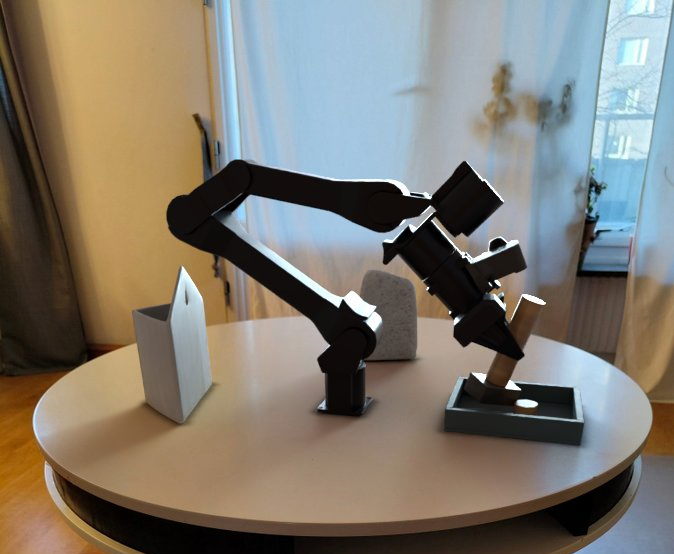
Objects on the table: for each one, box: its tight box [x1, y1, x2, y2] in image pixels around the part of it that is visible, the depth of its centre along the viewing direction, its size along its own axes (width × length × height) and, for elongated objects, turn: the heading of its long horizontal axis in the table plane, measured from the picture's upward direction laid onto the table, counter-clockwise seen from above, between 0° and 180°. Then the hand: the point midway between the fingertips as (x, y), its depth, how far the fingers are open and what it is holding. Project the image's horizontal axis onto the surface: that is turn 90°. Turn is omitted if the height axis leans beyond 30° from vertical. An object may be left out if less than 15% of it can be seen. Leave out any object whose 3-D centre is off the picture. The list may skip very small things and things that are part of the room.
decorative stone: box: [359, 269, 418, 361], centre depth 106 cm, size 11×6×15 cm, turn 84°
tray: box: [443, 376, 585, 446], centre depth 82 cm, size 14×17×3 cm
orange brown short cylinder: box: [513, 400, 538, 416], centre depth 81 cm, size 3×3×2 cm
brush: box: [464, 294, 546, 406], centre depth 79 cm, size 6×4×14 cm, turn 113°
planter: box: [131, 265, 213, 425], centre depth 86 cm, size 16×8×19 cm, turn 177°
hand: (521, 354), depth 79 cm, fingers closed on brush, 3 cm apart
